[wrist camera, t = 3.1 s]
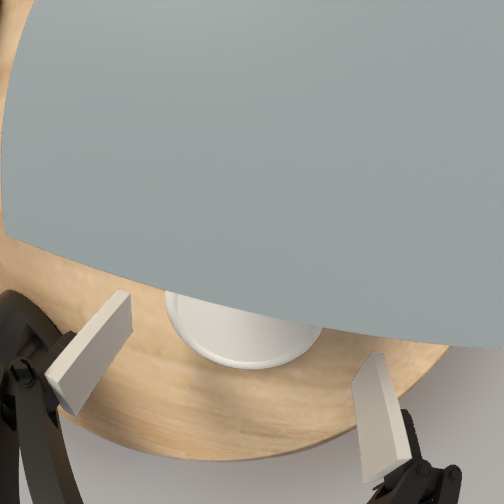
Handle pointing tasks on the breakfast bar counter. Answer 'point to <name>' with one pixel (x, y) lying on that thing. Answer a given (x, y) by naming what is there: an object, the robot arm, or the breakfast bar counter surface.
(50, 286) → the breakfast bar counter surface
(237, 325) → the white round disc
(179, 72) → the block top
